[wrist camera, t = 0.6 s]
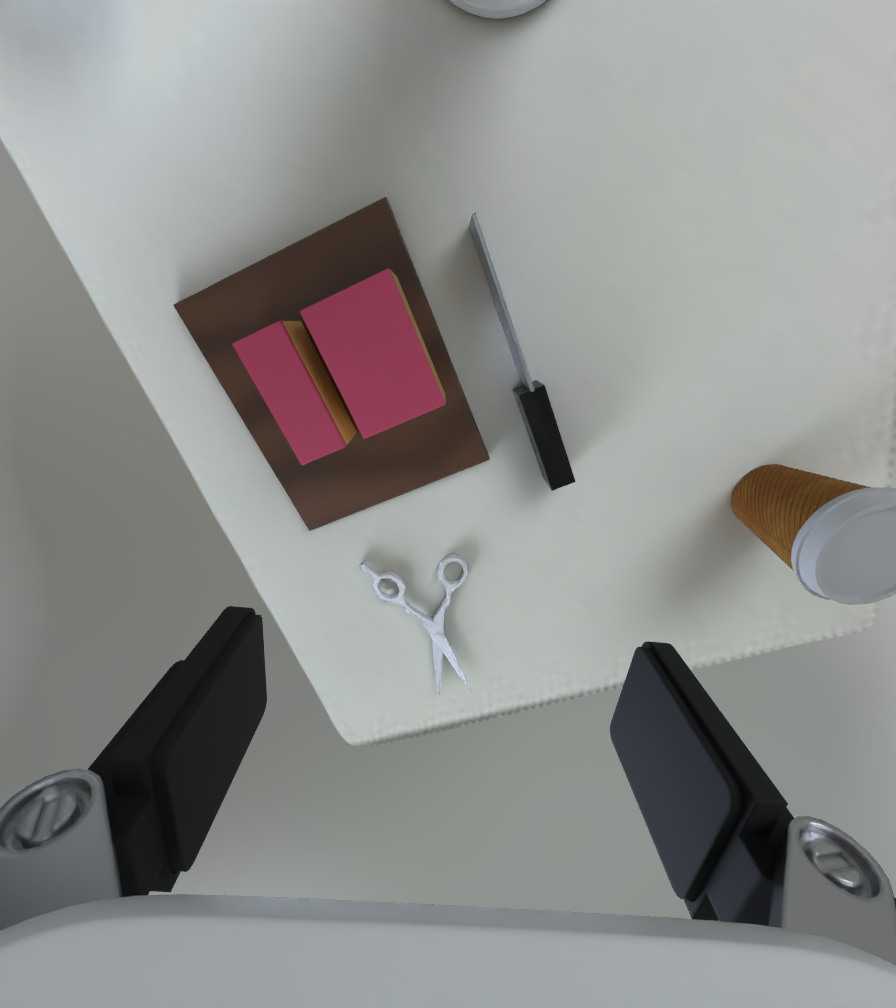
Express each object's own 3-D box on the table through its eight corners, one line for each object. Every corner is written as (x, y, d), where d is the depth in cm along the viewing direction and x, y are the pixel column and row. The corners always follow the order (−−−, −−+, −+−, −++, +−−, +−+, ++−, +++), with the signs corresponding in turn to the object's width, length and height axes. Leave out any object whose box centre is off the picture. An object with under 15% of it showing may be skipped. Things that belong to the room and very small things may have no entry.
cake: (318, 312, 35) (299, 310, 30) (396, 275, 34) (388, 267, 29) (373, 425, 39) (363, 439, 34) (445, 394, 38) (445, 404, 33)
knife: (457, 231, 34) (458, 220, 30) (483, 219, 33) (488, 205, 30) (543, 478, 42) (553, 493, 38) (565, 469, 41) (577, 484, 38)
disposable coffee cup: (834, 459, 41) (978, 510, 30) (781, 546, 45) (893, 620, 34) (743, 437, 40) (857, 481, 29) (697, 527, 44) (783, 596, 33)
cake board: (178, 305, 35) (172, 304, 35) (387, 199, 33) (385, 196, 32) (311, 527, 43) (309, 531, 43) (489, 457, 41) (489, 459, 40)
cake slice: (258, 341, 36) (231, 343, 31) (301, 320, 35) (279, 320, 31) (318, 449, 39) (301, 465, 35) (357, 432, 39) (345, 447, 34)
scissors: (460, 542, 43) (499, 690, 51) (460, 539, 44) (498, 685, 51) (359, 565, 44) (412, 707, 51) (360, 561, 45) (412, 701, 52)
